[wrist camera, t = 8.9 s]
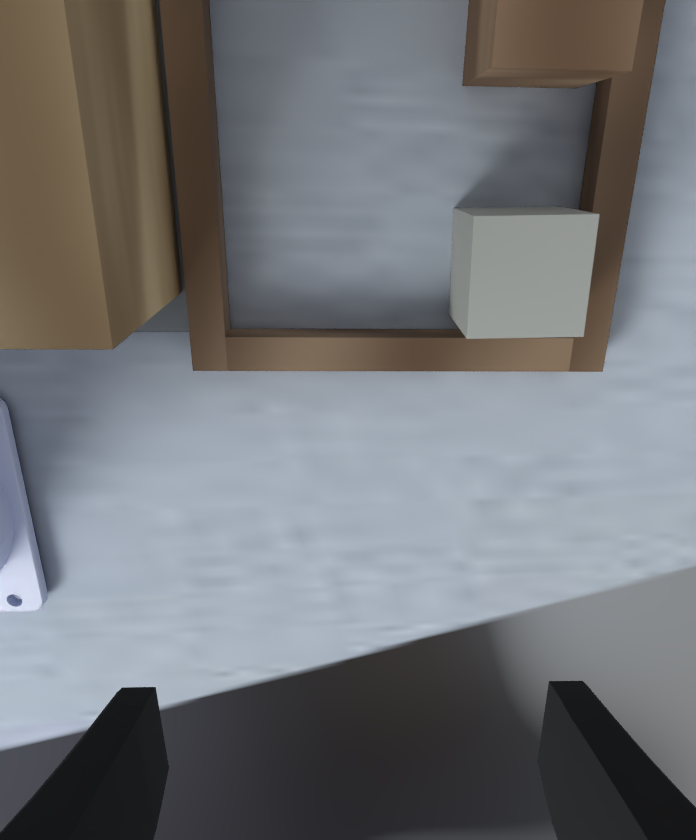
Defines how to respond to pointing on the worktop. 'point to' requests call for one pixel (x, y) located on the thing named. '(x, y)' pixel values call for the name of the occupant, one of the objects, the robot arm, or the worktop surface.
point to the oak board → (83, 174)
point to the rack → (386, 348)
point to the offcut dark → (549, 42)
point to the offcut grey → (521, 271)
